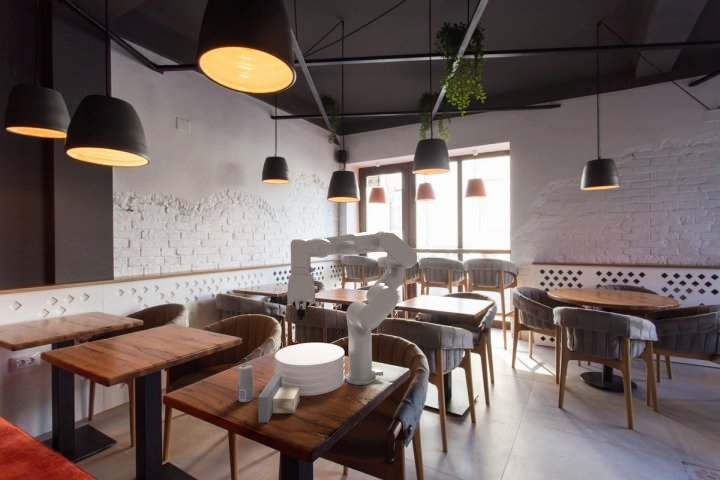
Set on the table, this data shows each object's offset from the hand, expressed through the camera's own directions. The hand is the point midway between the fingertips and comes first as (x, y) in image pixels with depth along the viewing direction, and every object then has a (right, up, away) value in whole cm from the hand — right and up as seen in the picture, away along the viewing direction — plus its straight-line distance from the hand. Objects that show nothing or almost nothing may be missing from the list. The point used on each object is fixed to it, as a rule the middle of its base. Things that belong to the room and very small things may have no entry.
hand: (301, 319), depth 135 cm
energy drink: (-19, -28, -7) cm, 34 cm away
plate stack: (+2, -28, +9) cm, 29 cm away
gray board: (-8, -27, -15) cm, 32 cm away
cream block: (-3, -28, -13) cm, 31 cm away
